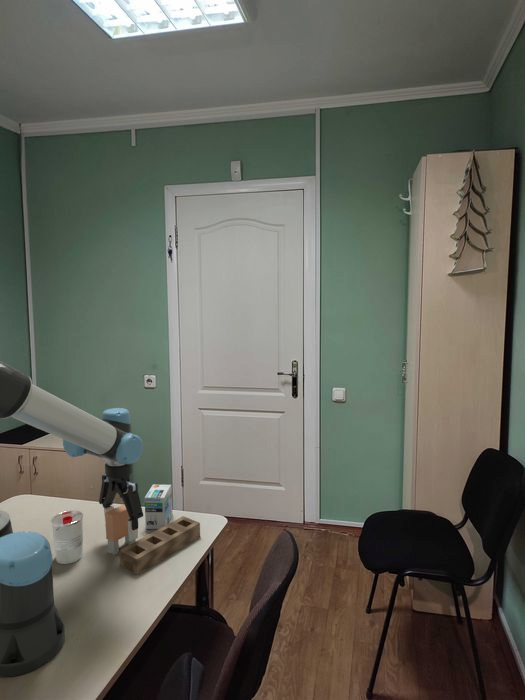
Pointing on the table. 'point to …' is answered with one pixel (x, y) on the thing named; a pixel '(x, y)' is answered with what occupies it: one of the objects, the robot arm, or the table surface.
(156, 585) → the table surface
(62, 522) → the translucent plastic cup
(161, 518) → the light bulb box
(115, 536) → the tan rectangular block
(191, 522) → the brown long block
